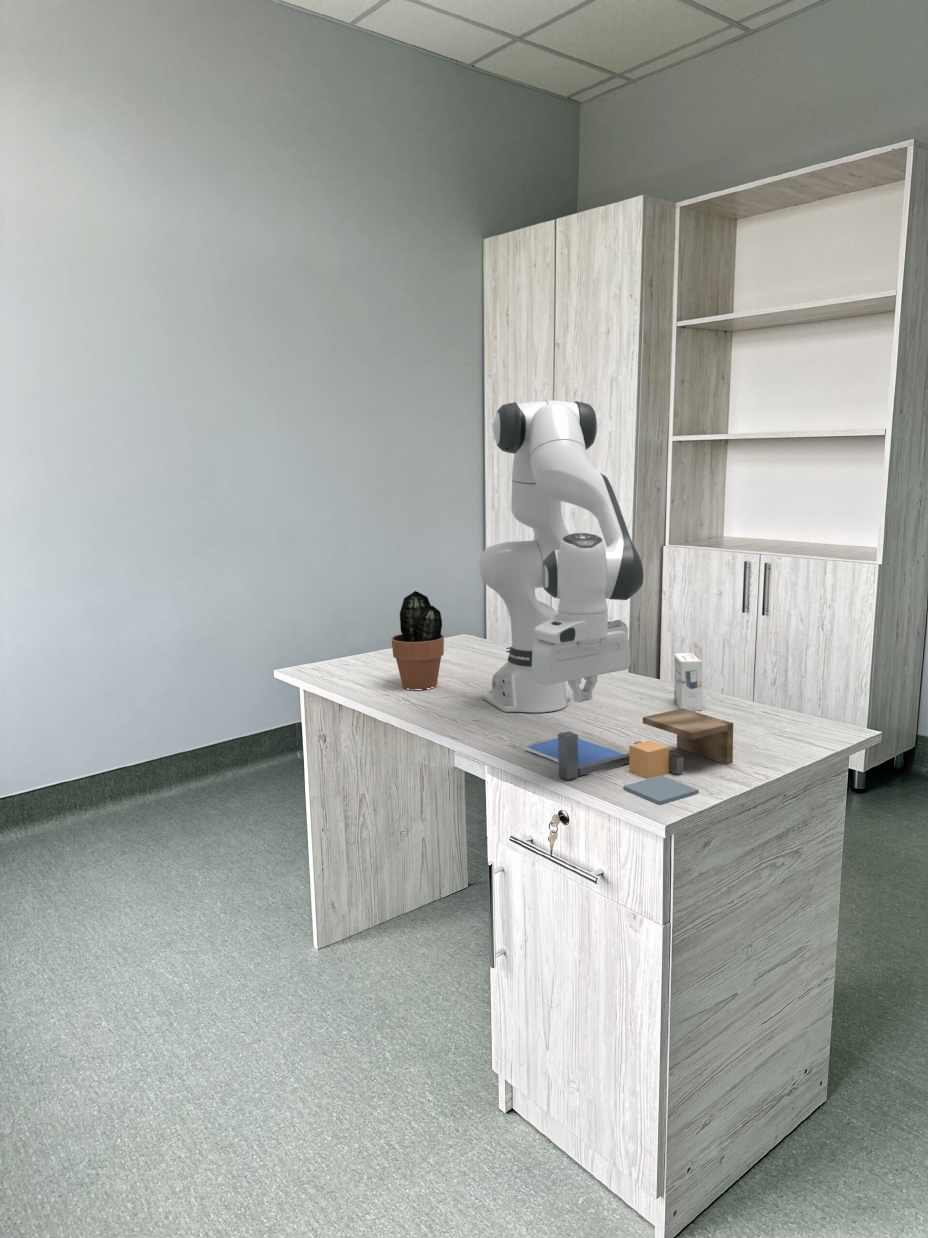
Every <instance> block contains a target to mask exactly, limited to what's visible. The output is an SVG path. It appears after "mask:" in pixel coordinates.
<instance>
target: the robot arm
mask: <svg viewBox="0 0 928 1238" xmlns="http://www.w3.org/2000/svg"><path fill="white" fill-rule="evenodd" d="M598 426H599V425H598V420H597V415H596V410H595V409H594V408H593V406H592V405H591V404H589V403H587V402H582V401H578V400H577V401H574V402H571V401H566V400H565V401H564V400H553V399H551V400H548V399H547V400H546V399H545V400H544V401H543V400H541V401H537V400H536V401H528V402H520V403H517V402H515V401H514V402H509V403H505V404H502V405H500V407H499V408H498V409H497V411H496V414H495V417H494V419H493V423H492V434H493V438H494V440H495V443H496V447H498V449H499V450H500V451H502V452H505V453H508V454H514V456H513V461H512V470H511V505H510V506H511V508H510V511H511V513H512V515H513V517H514V518H515V520H516V521H518V522H519V523H521V524H523V525H524V526H526V527H529V528H531V529H532V531H533V535H534V536H533V537H534V538H533V539H532V540H521V541H520V540H517V541H506V542H505V541H504V542H501V543H498V544H494V545H490V546H487V547H486V548H485V549H484V551H483V552H482V554H481V556H480V559H479V564H478V566H479V567H478V569H479V573H480V577H481V579H482V581H483V582H484V584H485V585H486V586H487V587H488V588H489V589H491V590H493V592H495V593H496V594H498V596H500V598H501V599H502V601H503V602H504V604H505V606H506V609H507V610H508V615H509V620H510V629H511V646H510V647H506V648H505V649H506V651H505V652H506V653H508V657H507V661H506V662H505V664H504V665H502V666H501V667H500V668H499V669H498V670H497V671H495V673H494V674H493V675H492V679H491V690H488V691H487V692H486V691H485V692H484V693H482V696H481V697H482V699H483V700H484V701H486V702H488V703H490V704H491V705H493V706H494V707H496V708H498V709H499V710H500V711H502V712H506V713H509V712H511V713H514V712H515V713H516V712H521V713H547V712H554V711H559V710H562V709H564V708H566V707H567V706H568V701H570V700H571V698H570V695H569V694H567V687H566V682H567V683H568V685H569V687H570V689H571V690H572V692H573V701H574V702H576V703H582V702H585V701H591V700H593V690H594V688H595V686H596V684H597V683H598V676H601V675H607V674H610V673H616V672H620V671H621V672H622V671H626V670H628V669H629V667H630V665H631V661H632V659H631V658H632V657H631V656H632V655H631V647H630V640H629V636H628V634H629V628H628V626H627V624H626V623H625V621H622V620H621V619H616V620H613V621H609V620H608V613H609V611H608V603H607V599H609V600H616V601H628V600H629V599H631V598H633V596H635V595H636V594H637V592H639V590H640V589H641V588H642V586H643V583H644V567H643V563H642V559H641V557H640V555H639V552H638V551H637V549H636V547H635V545H634V543H633V541H632V538H631V536H630V533H629V529H628V527H627V524H626V520H625V518H624V517H623V513H622V510H621V507H620V505H619V502H618V499H617V497H616V493H615V491H614V489H613V486H612V485H611V482H610V480H609V478H608V477H607V475H605V474H603V473H600V472H599V471H598V470H597V469H596V468H595V466H594V465H593V464H592V462H591V460H590V459H589V457H588V454H587V450H588V449H590V447H592V446H593V444H594V443H595V440H596V437H597V433H598ZM562 502H563V503H568V504H571V505H574V506H576V507H579V508H582V509H585V511H586V510H587V511H588V512H590V513H591V514H592V515H594V517H595V518H596V519H597V522H598V525H599V528H600V530H601V534H602V537H603V538H602V537H600V536H599V535H596V534H593V533H588V532H577V533H576V532H574V533H570V532H569V531H568V529H567V527H566V525H565V522H564V520H563V516H562V514H563V513H562ZM605 545H606V546H605ZM539 588H543V590H544V591H546V593H548V595H550V596H551V597H552V598H554V599H558V606H557V611H556V610H555V609H554V608H553V606H550V604H549V605H548V604H546V603H544V602H543V601H541V600H538V598H537V597H536V589H539ZM582 679H583V680H585V683H584V685H583V688H582V689H581V687H580V685H581V684H582Z"/></svg>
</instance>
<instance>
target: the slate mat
mask: <svg viewBox="0 0 928 1238" xmlns="http://www.w3.org/2000/svg"><path fill="white" fill-rule="evenodd" d="M622 787H623V788H622V789H623V790H625V791H627V792H629V793H631V794H634V795H636V796H638V797H641V798H643V799H646V800H648V801H650V802H652V803H655V804H658V805H660V806H661V805H663V804H666V803H670V802H673V801H677V800H680V799H683V798H687V797H690V796H695V795H697V794H699V793H700V790H699V789H698V788H696V787H693V786H690V785H688V784H685V783H682V782H679V781H678V780H675V779H672V778H670V777H667V776H665V775H659V776H655V777H652V778H646V779H644V780H639V781H636V782H632V783H629V784H626V785H623V786H622Z"/></svg>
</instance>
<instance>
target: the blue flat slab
mask: <svg viewBox="0 0 928 1238" xmlns="http://www.w3.org/2000/svg"><path fill="white" fill-rule="evenodd" d="M524 751H526V752H530V753H533V754H534V753H535V755H537V754H538V756H540V757H542V756H543V758H545V757H546V758H545V759H547V758H548V760H550V759H551V760H550V761H552V760H553V762H555V763H557V764H559V762H558V737H555V738H553V739H549V740H545V741H541V742H538V743H533V744H530V745H526V746H525V747H524ZM623 754H625V753H623V752H620V751H617V750H614V749H611V748H608V747H605V746H602V745H599V744H596V743H594V742H590V741H587V740H585V739H581V738H579V737H578V766H579V765H583V764H587V763H591V762H595V761H599V760H603V759H607V758H611V757H615V756H619V755H623ZM627 764H628V765H629V763H627ZM627 764H626V765H627ZM623 765H624V766H625V764H623ZM623 765H619V766H615V767H611V768H607V769H603V770H600V771H596V772H592V773H588V774H587V775H594V774H598V773H600V772H603V771H604V772H605V771H608V770H610V769H614V768H617V767H620V766H623Z"/></svg>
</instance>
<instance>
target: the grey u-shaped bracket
mask: <svg viewBox="0 0 928 1238" xmlns="http://www.w3.org/2000/svg"><path fill="white" fill-rule="evenodd" d="M578 735H579V734H578V733H575V732H572V731H570V730H568V731H565V732H561V733H557V738H558V762H559V763H558V762H557V763H558V777H559V778H561V779H564V780H566V781H570V780H573V779H576V778H579V776H584V775H589V774H588V773H592V772H596V771H600V770H603V769H607V768H611V767H614V768H616V767H615V766H618V767H620V766H619V765H621V766H623V764H624V765H627V763H628V764H629V752H627V753H624V754H623V755H619V756H615V757H611V758H607V759H603V760H599V761H595V762H591V763H587V764H583V765H579V766H578V738H579V736H578ZM641 742H642V741H636V742H634V744H637V743H641ZM611 769H612V768H611ZM669 773H673V774H675V775H678V774H682V773H684V756H683V755H679V754H677V753H674V752H672V751H669Z"/></svg>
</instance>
